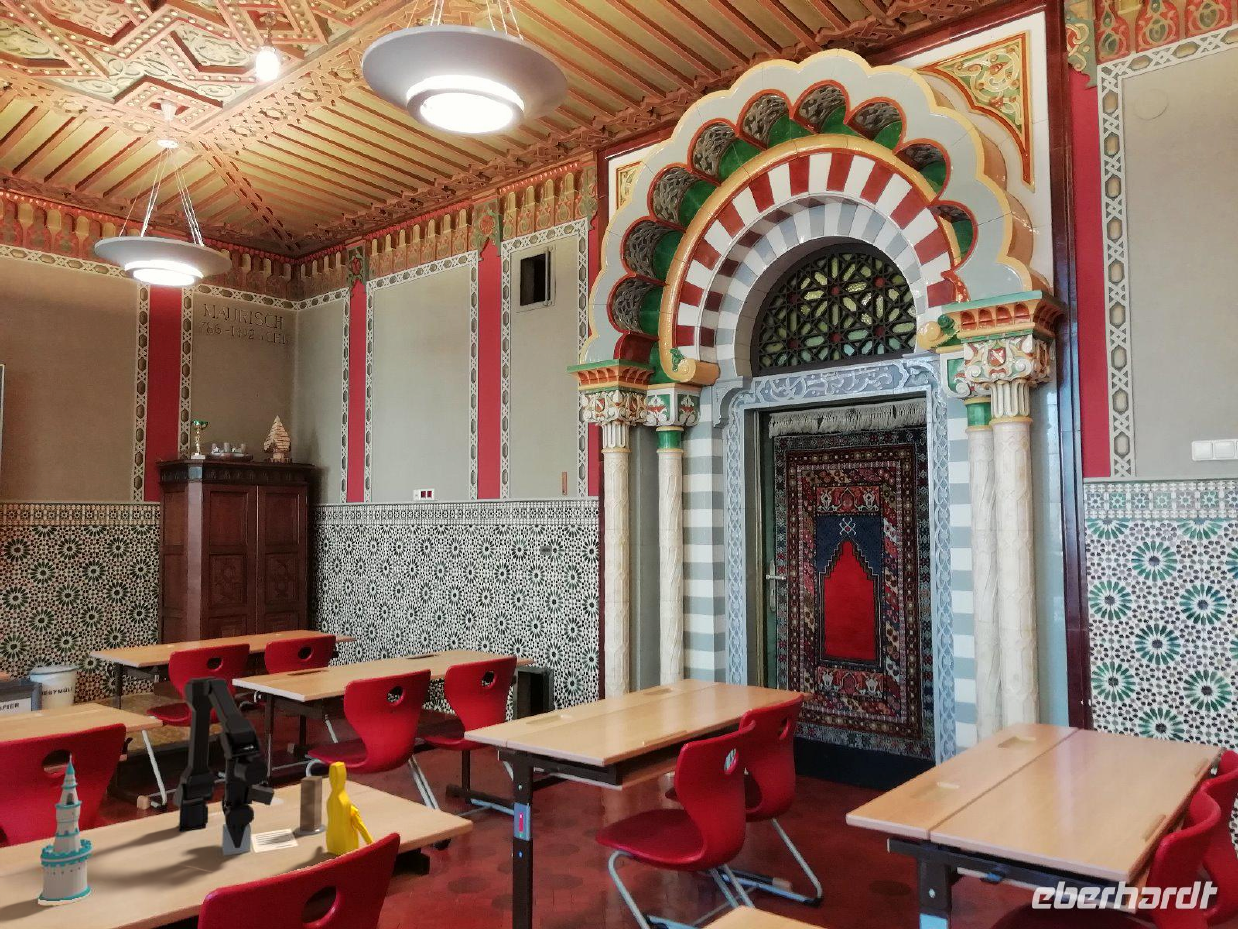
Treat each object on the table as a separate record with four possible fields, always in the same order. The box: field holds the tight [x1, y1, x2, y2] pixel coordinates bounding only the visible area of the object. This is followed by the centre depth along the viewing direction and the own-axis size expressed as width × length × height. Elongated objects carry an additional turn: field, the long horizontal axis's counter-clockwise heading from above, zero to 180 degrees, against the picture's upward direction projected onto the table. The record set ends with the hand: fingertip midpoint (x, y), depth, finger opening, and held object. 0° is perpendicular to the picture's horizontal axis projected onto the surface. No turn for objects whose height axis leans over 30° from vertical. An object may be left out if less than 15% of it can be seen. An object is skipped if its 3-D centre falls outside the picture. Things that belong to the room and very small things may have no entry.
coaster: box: [293, 824, 327, 836], centre depth 232 cm, size 8×8×1 cm
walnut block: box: [299, 775, 323, 831], centre depth 233 cm, size 4×4×13 cm
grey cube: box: [221, 823, 252, 856], centre depth 218 cm, size 6×6×6 cm
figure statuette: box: [325, 761, 375, 856], centre depth 216 cm, size 18×8×22 cm, turn 56°
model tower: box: [38, 754, 93, 901], centre depth 192 cm, size 10×10×30 cm
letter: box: [251, 828, 299, 854], centre depth 225 cm, size 10×15×1 cm, turn 27°
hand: (236, 842), depth 218 cm, fingers open, 9 cm apart
